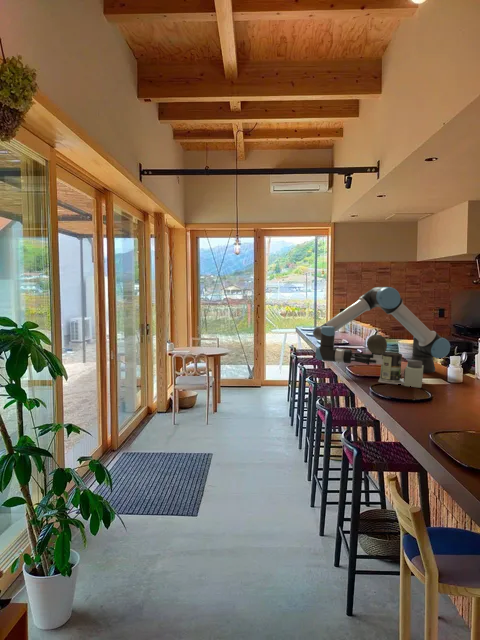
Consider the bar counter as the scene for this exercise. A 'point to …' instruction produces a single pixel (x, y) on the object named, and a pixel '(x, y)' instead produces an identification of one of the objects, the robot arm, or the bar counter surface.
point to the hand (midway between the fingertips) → (384, 360)
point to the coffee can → (391, 366)
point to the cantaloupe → (377, 344)
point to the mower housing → (411, 375)
